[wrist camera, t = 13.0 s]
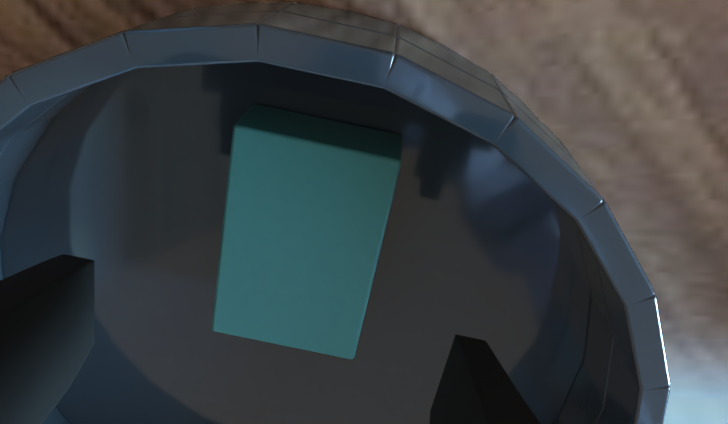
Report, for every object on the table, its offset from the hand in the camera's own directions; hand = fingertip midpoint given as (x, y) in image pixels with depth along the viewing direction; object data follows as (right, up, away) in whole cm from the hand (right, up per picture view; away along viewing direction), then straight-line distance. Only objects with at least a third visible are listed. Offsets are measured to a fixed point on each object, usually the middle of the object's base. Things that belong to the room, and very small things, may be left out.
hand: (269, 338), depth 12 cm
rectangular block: (0, +2, +5) cm, 6 cm away
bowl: (0, -1, +7) cm, 7 cm away
